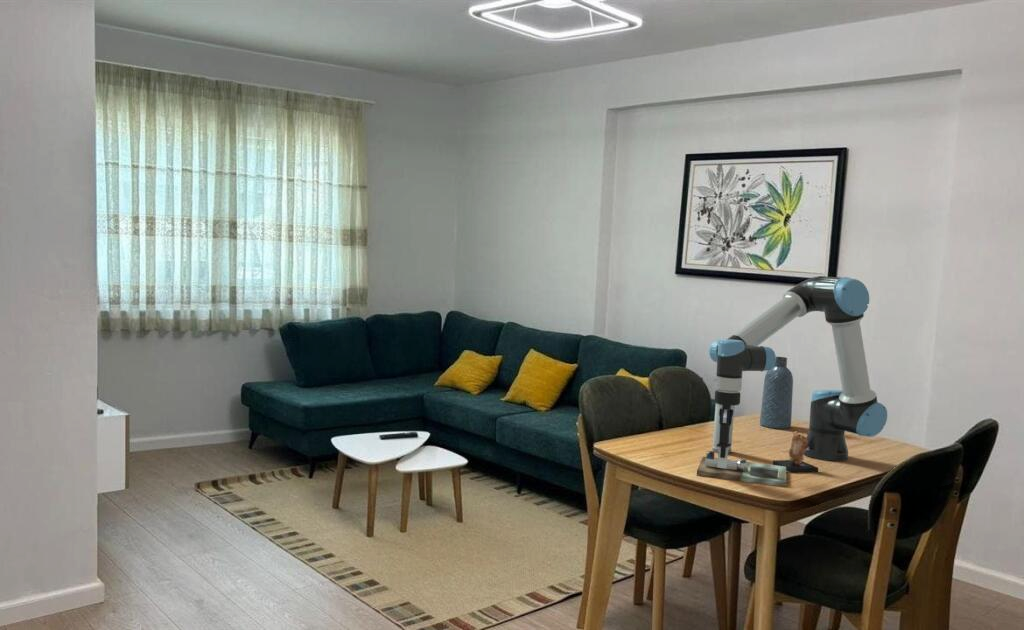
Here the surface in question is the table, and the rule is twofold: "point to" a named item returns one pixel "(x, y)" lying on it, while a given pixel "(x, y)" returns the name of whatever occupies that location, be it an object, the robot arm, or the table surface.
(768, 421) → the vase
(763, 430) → the table surface
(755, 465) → the door board
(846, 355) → the robot arm
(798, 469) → the figurine
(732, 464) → the bar
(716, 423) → the travel mug
